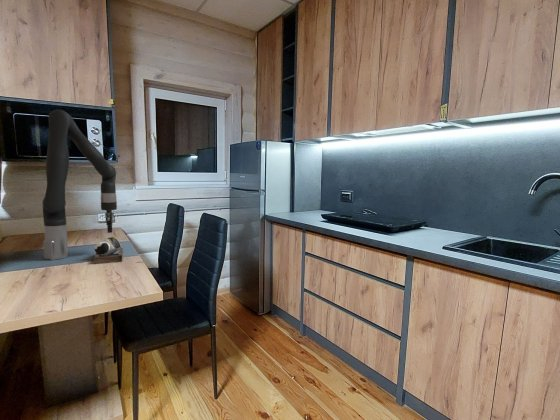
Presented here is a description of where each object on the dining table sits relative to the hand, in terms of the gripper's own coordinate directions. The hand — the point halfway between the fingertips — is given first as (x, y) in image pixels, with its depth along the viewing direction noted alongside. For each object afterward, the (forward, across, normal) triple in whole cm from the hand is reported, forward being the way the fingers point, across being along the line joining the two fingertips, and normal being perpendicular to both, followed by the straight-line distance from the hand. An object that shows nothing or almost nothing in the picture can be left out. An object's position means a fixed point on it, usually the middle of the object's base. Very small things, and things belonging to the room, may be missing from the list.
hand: (109, 232), depth 164 cm
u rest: (+12, +9, 0) cm, 15 cm away
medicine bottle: (+7, +2, +2) cm, 8 cm away
